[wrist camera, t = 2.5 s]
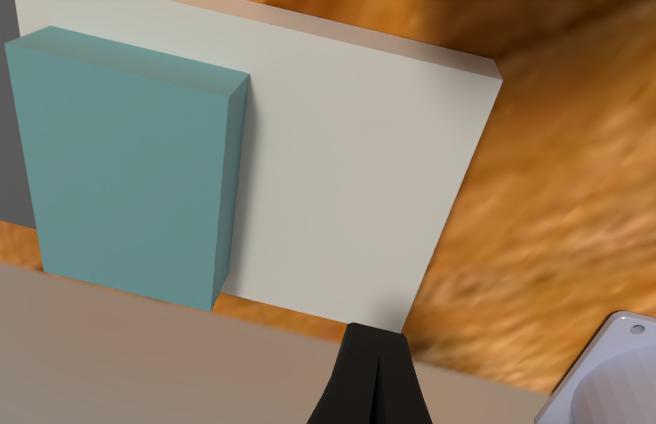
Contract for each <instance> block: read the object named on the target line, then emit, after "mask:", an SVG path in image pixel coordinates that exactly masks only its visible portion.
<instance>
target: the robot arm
mask: <svg viewBox="0 0 656 424" xmlns="http://www.w3.org/2000/svg"><path fill="white" fill-rule="evenodd" d="M635 325H638V326H636V327H633V326H635ZM534 423H535V424H656V318H653V317H649V316H645V315H641V314H637V313H633V312H629V311H620V312H616V313H614V314H613V315H611V316H610V317H609V319H608V320H607V321H606V323H605V324H604V325H603V327H602V328H601V329H600V331H599V332H598V334H597V335H596V336H595V338H594V339H593V340H592V342H591V343H590V344H589V346H588V347H587V348H586V350H585V351H584V352H583V354H582V355H581V357H580V358H579V359H578V361H577V362H576V363H575V365H574V366H573V367H572V369H571V370H570V371H569V373H568V374H567V376H566V377H565V378H564V380H563V381H562V382H561V384H560V385H559V386H558V388H557V389H556V390H555V392H554V393H553V394H552V396H551V397H550V399H549V400H548V401H547V403H546V404H545V405H544V407H543V408H542V409H541V411H540V412H539V413H538V415H537V416H536V417H535V419H534ZM307 424H433V423H432V421H431V418H430V415H429V413H428V410H427V407H426V404H425V401H424V398H423V395H422V392H421V389H420V386H419V383H418V379H417V376H416V373H415V369H414V366H413V362H412V359H411V355H410V351H409V347H408V342H407V338H406V337H405V335H404V334H401V333H396V332H392V331H388V330H384V329H380V328H376V327H372V326H367V325H363V324H359V323H355V322H352V323H350V324H347V328H346V331H345V334H344V337H343V340H342V343H341V347H340V350H339V353H338V356H337V360H336V363H335V366H334V369H333V372H332V376H331V378H330V380H329V382H328V384H327V386H326V388H325V391H324V393H323V395H322V397H321V399H320V400H319V402H318V404H317V406H316V408H315V409H314V411H313V413H312V415H311V417H310V418H309V420H308V422H307Z"/></svg>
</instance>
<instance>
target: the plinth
mask: <svg viewBox="0 0 656 424" xmlns="http://www.w3.org/2000/svg"><path fill="white" fill-rule="evenodd" d="M15 4H16V11H17V17H18V24H19V30H20V37H22V36H25V35H27V34H30V33H33V32H35V31H38V30H40V29H43V28H45V27H48V26H55V27H59V28H63V29H67V30H71V31H75V32H80V33H84V34H88V35H92V36H96V37H100V38H105V39H109V40H113V41H117V42H121V43H125V44H129V45H134V46H138V47H142V48H146V49H150V50H154V51H159V52H163V53H167V54H171V55H175V56H179V57H184V58H188V59H192V60H196V61H200V62H204V63H208V64H213V65H217V66H221V67H225V68H229V69H233V70H238V71H242V72H246V73H250V74H249V83H248V93H247V102H246V111H245V121H244V130H243V139H242V149H241V158H240V168H239V177H238V186H237V196H236V205H235V214H234V224H233V233H232V242H231V252H230V261H229V270H228V276H227V278H226V280H225V282H224V285H223V287H222V289H221V291H220V292H221V293H225V294H229V295H233V296H237V297H242V298H246V299H250V300H254V301H258V302H262V303H266V304H270V305H274V306H278V307H283V308H287V309H291V310H295V311H299V312H303V313H307V314H311V315H315V316H319V317H324V318H328V319H332V320H336V321H340V322H344V323H348V324H350V323H352V322H355V323H359V324H363V325H367V326H372V327H376V328H380V329H384V330H388V331H392V332H396V333H401V330H402V328H403V326H404V323H405V321H406V318H407V316H408V313H409V311H410V308H411V306H412V303H413V301H414V299H415V296H416V294H417V291H418V289H419V286H420V284H421V281H422V279H423V276H424V274H425V271H426V269H427V267H428V264H429V262H430V259H431V257H432V254H433V252H434V249H435V247H436V244H437V242H438V240H439V237H440V235H441V232H442V230H443V227H444V225H445V222H446V220H447V217H448V215H449V213H450V210H451V208H452V205H453V203H454V200H455V198H456V195H457V193H458V190H459V188H460V185H461V183H462V181H463V178H464V176H465V173H466V171H467V168H468V166H469V163H470V161H471V158H472V156H473V154H474V151H475V149H476V146H477V144H478V141H479V139H480V136H481V134H482V131H483V129H484V127H485V124H486V122H487V119H488V117H489V114H490V112H491V109H492V107H493V104H494V102H495V99H496V97H497V95H498V92H499V90H500V87H501V85H502V82H503V79H502V77H501V75H500V72H499V70H498V68H497V66H496V64H495V62H494V60H493V59H490V58H486V57H481V56H477V55H473V54H469V53H465V52H461V51H456V50H452V49H448V48H444V47H440V46H436V45H431V44H427V43H423V42H419V41H415V40H410V39H406V38H402V37H398V36H394V35H390V34H385V33H381V32H377V31H373V30H369V29H365V28H360V27H356V26H352V25H348V24H344V23H339V22H335V21H331V20H327V19H323V18H319V17H314V16H310V15H306V14H302V13H298V12H294V11H289V10H285V9H281V8H277V7H273V6H268V5H264V4H260V3H256V2H252V1H248V0H15Z"/></svg>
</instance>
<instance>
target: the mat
mask: <svg viewBox="0 0 656 424" xmlns="http://www.w3.org/2000/svg"><path fill="white" fill-rule="evenodd" d="M17 38H20V30H19V24H18V17H17V11H16V4H15V0H0V220H1V221H5V222H9V223H13V224H18V225H22V226H26V227H30V228H34V229H37V228H36V223H35V217H34V211H33V205H32V200H31V194H30V188H29V182H28V177H27V171H26V165H25V159H24V154H23V148H22V142H21V136H20V131H19V125H18V119H17V113H16V108H15V102H14V96H13V90H12V85H11V79H10V73H9V67H8V62H7V56H6V50H5V44H4V43H7V42H9V41H12V40H14V39H17Z"/></svg>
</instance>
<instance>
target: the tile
mask: <svg viewBox="0 0 656 424" xmlns="http://www.w3.org/2000/svg"><path fill="white" fill-rule="evenodd" d="M4 44H5V50H6V56H7V62H8V67H9V73H10V79H11V85H12V90H13V96H14V102H15V108H16V113H17V119H18V125H19V131H20V136H21V142H22V148H23V154H24V159H25V165H26V171H27V177H28V182H29V188H30V194H31V200H32V205H33V211H34V217H35V223H36V228H37V234H38V240H39V246H40V252H41V257H42V263H43V269H44V272H48V273H52V274H56V275H61V276H65V277H69V278H73V279H77V280H81V281H85V282H89V283H93V284H97V285H101V286H106V287H110V288H114V289H118V290H122V291H126V292H130V293H134V294H138V295H142V296H146V297H151V298H155V299H159V300H163V301H167V302H171V303H175V304H179V305H183V306H187V307H192V308H196V309H200V310H204V311H208V312H211V310H212V308H213V306H214V304H215V302H216V299H217V297H218V295H219V293H220V291H221V289H222V287H223V285H224V282H225V280H226V278H227V276H228V270H229V261H230V252H231V242H232V233H233V224H234V214H235V205H236V196H237V186H238V177H239V168H240V158H241V149H242V139H243V130H244V121H245V111H246V102H247V93H248V83H249V74H250V73H246V72H242V71H238V70H233V69H229V68H225V67H221V66H217V65H213V64H208V63H204V62H200V61H196V60H192V59H188V58H184V57H179V56H175V55H171V54H167V53H163V52H159V51H154V50H150V49H146V48H142V47H138V46H134V45H129V44H125V43H121V42H117V41H113V40H109V39H105V38H100V37H96V36H92V35H88V34H84V33H80V32H75V31H71V30H67V29H63V28H59V27H55V26H48V27H45V28H43V29H40V30H38V31H35V32H33V33H30V34H27V35H25V36H22V37H20V38H17V39H14V40H12V41H9V42H7V43H4Z"/></svg>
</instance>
